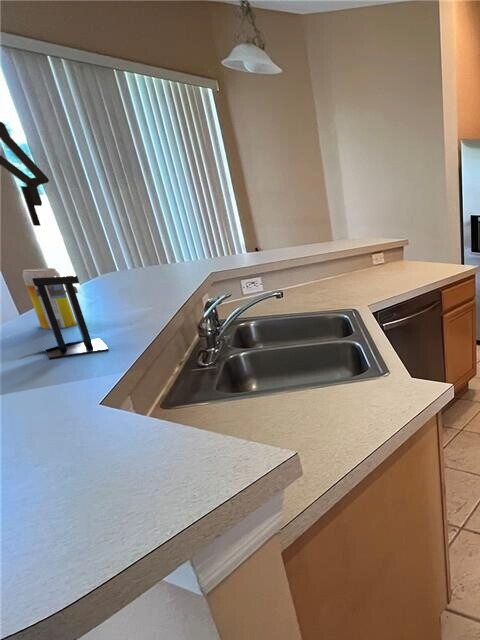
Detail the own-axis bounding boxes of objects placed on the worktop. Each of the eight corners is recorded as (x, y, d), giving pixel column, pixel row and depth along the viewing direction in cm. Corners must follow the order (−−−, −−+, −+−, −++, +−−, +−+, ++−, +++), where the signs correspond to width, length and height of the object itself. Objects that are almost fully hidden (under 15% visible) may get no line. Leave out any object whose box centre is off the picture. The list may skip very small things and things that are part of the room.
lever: (80, 284, 84) (76, 272, 83) (35, 288, 80) (30, 274, 79) (78, 296, 92) (74, 285, 92) (38, 300, 88) (33, 288, 88)
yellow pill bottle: (77, 328, 112) (57, 267, 107) (78, 332, 108) (57, 270, 103) (43, 331, 108) (21, 269, 103) (43, 336, 104) (20, 271, 99)
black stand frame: (110, 354, 93) (87, 283, 88) (50, 363, 87) (22, 287, 82) (101, 343, 100) (80, 277, 95) (45, 351, 94) (19, 280, 89)
